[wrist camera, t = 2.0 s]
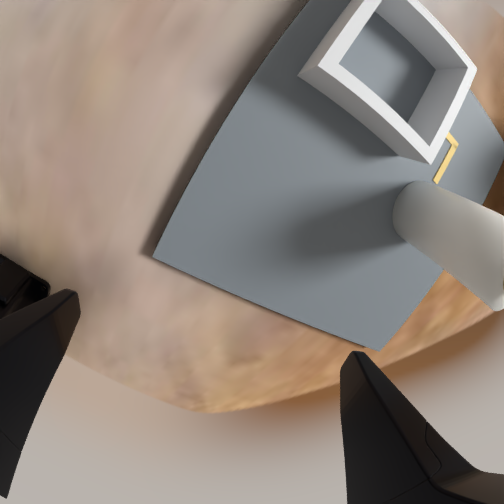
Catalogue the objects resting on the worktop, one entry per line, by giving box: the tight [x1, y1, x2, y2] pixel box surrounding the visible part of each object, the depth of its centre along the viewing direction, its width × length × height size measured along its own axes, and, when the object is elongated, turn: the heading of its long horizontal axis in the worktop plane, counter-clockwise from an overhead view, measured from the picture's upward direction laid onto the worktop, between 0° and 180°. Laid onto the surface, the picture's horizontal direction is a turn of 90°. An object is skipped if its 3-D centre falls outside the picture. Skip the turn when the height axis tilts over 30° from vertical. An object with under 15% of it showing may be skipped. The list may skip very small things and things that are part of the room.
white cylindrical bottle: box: [392, 181, 504, 311], centre depth 14 cm, size 5×5×12 cm
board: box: [152, 0, 504, 351], centre depth 17 cm, size 24×22×5 cm
